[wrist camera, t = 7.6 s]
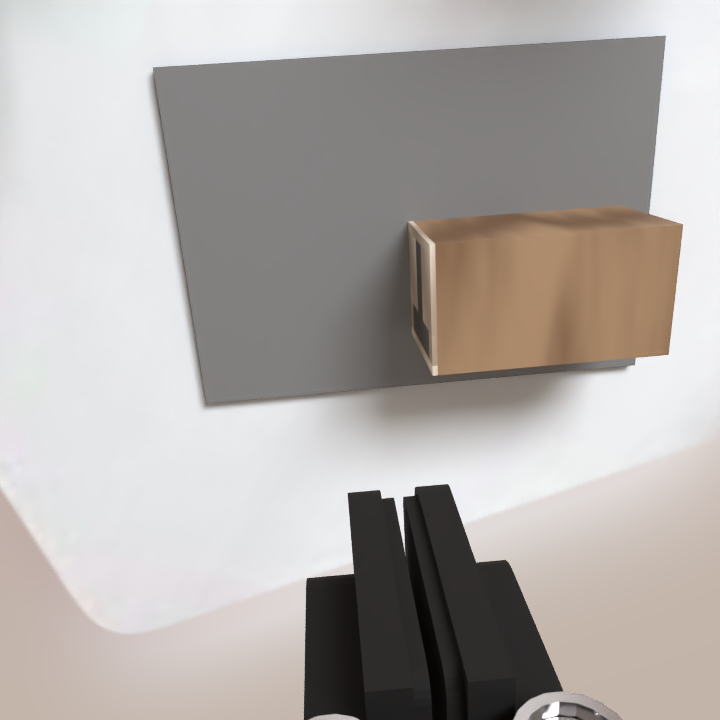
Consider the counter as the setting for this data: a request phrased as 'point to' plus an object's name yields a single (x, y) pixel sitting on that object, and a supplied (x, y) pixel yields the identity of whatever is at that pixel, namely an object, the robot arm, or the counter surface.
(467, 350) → the block
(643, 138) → the mat
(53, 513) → the counter surface
